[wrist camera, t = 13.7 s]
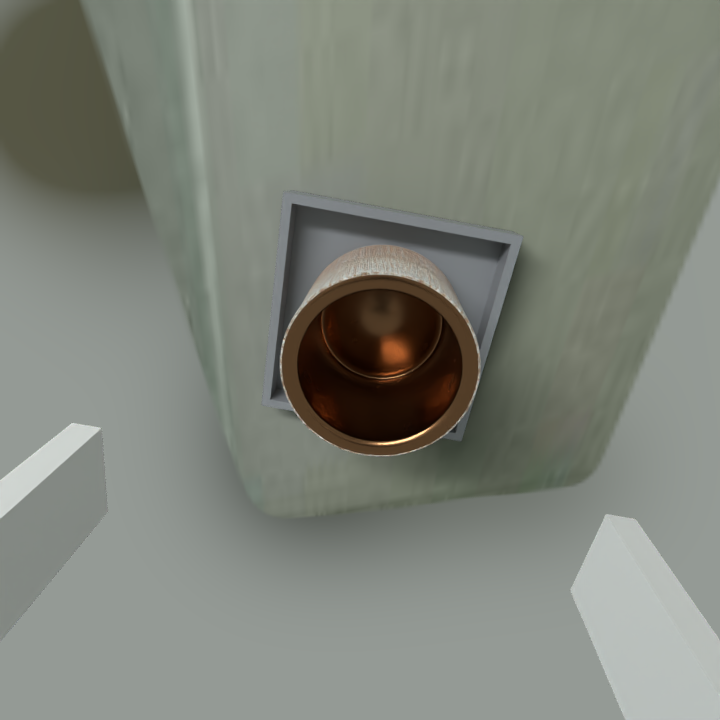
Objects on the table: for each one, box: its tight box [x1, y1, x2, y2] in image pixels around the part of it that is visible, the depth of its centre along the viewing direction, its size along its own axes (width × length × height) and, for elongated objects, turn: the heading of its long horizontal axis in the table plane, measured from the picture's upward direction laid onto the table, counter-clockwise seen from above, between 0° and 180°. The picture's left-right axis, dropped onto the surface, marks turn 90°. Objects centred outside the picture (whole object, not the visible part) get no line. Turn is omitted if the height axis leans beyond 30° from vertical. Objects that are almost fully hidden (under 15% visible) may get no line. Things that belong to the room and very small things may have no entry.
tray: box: [262, 190, 523, 441], centre depth 33 cm, size 15×15×2 cm
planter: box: [280, 245, 481, 457], centre depth 29 cm, size 11×11×10 cm
